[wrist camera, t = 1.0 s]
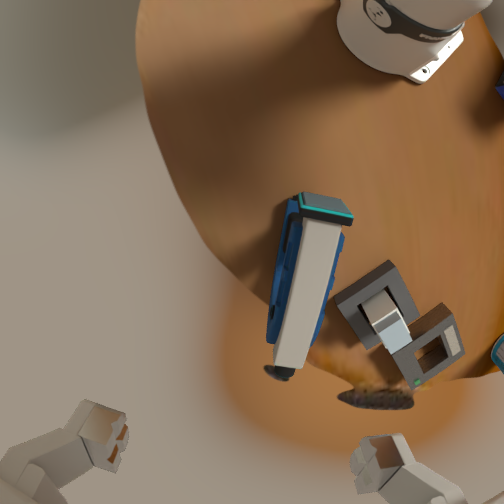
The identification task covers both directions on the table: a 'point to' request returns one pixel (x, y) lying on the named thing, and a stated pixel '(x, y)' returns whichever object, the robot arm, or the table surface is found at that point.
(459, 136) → the table surface
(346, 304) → the grey square frame
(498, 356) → the beverage bottle
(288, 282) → the handheld scanner
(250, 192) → the table surface
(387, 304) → the plug
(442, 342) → the port block
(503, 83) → the ink box
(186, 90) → the table surface
